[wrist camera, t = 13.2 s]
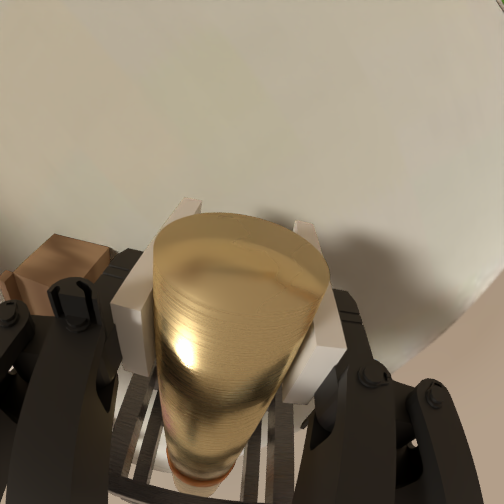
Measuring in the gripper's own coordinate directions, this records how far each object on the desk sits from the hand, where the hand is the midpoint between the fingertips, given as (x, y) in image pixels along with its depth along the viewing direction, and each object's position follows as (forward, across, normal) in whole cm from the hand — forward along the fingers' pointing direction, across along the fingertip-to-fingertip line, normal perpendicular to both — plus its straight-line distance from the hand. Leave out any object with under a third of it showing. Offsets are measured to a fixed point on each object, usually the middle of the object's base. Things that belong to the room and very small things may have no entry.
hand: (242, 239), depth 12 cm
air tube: (-5, 0, +10) cm, 11 cm away
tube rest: (+4, +11, +8) cm, 14 cm away
